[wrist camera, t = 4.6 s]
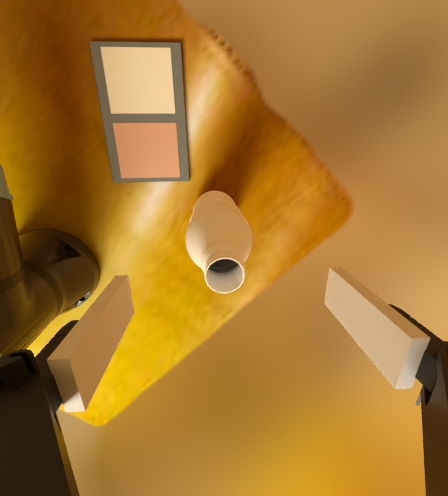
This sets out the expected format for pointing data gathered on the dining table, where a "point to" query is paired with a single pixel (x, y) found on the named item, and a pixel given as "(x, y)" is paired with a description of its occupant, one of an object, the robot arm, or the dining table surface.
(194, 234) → the water bottle
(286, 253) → the dining table surface
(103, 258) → the dining table surface
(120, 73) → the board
